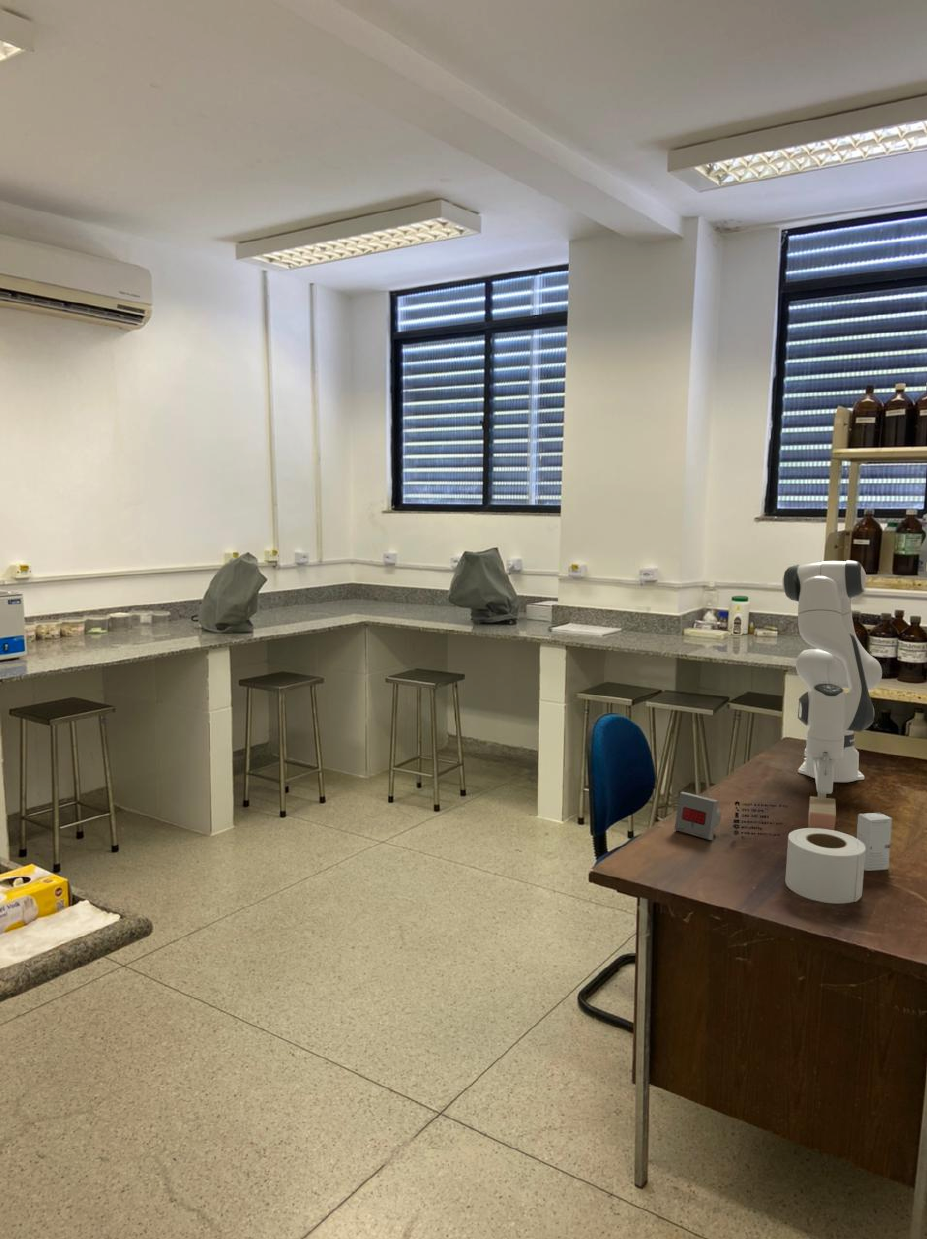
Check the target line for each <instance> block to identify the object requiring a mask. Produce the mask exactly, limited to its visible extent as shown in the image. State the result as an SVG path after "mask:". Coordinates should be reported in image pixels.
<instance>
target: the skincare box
mask: <svg viewBox="0 0 927 1239" xmlns="http://www.w3.org/2000/svg"><path fill="white" fill-rule="evenodd" d="M892 824H893V818H892V817H890V816H888V815H885V814H884V813H881V812H872V813H871V812H869V813H868V812H867V813H859V814H858V815H857V825H856V838H857V839H858V840H860V841H861V842H862V843H863V844H864V845H865V847H866V850H865V863H864V872H869V871H870V872H871V871H882V870H884V871H886V870H888V869H890V868H889V866H890V855H891V854H890V853H891V841H892V840H891V838H892V837H891V836H892V826H893V825H892Z"/></svg>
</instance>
